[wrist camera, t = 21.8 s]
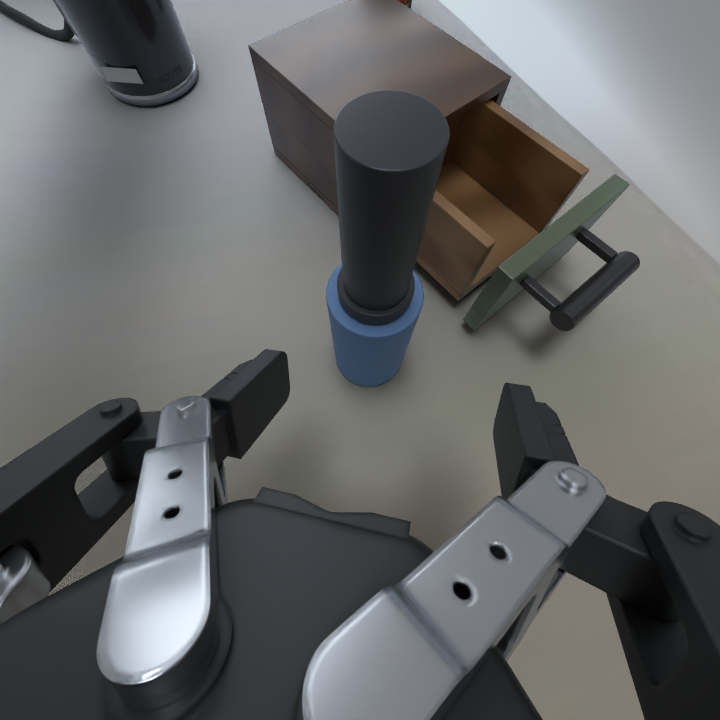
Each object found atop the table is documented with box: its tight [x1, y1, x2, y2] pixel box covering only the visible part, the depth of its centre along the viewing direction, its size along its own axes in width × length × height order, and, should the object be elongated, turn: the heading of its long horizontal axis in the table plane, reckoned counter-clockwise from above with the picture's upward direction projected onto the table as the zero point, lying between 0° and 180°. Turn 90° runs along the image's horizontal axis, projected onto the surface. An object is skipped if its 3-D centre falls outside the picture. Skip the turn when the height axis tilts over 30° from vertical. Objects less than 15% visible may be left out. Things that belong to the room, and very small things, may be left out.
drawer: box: [416, 99, 640, 331], centre depth 25 cm, size 18×11×7 cm, turn 40°
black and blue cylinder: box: [326, 90, 450, 387], centre depth 17 cm, size 5×5×18 cm
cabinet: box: [248, 0, 511, 215], centre depth 28 cm, size 15×13×9 cm
